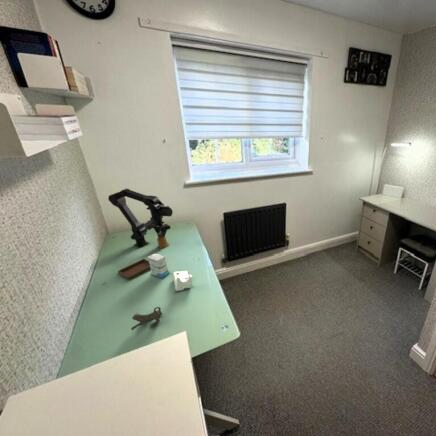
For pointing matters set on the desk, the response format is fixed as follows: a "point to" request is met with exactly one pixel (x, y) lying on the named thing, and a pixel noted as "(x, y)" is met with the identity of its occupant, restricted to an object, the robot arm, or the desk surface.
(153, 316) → the dog figurine
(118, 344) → the desk surface
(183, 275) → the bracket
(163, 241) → the bottle
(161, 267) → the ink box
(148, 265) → the tray
